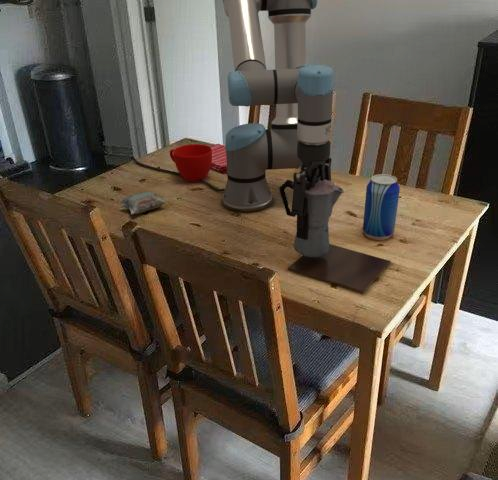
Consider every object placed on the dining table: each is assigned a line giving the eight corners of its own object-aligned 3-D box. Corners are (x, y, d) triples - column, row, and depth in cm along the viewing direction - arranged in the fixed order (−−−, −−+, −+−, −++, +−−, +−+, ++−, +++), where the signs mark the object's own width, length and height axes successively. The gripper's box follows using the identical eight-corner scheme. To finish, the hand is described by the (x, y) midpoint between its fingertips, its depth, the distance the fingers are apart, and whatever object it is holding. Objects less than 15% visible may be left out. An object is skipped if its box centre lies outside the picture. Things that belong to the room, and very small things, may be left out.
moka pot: (339, 261, 131) (343, 184, 120) (276, 257, 134) (275, 181, 123) (342, 242, 139) (346, 168, 128) (282, 238, 142) (281, 165, 131)
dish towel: (224, 174, 189) (223, 167, 187) (184, 158, 204) (183, 151, 202) (260, 161, 198) (260, 154, 196) (219, 147, 213) (219, 140, 211)
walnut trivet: (288, 270, 134) (288, 267, 133) (319, 243, 144) (319, 241, 144) (362, 294, 124) (362, 291, 123) (390, 263, 135) (390, 260, 134)
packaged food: (167, 209, 166) (165, 194, 163) (132, 220, 160) (129, 204, 158) (154, 200, 172) (152, 186, 169) (120, 211, 166) (117, 196, 164)
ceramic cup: (184, 167, 196) (182, 140, 191) (221, 176, 187) (219, 147, 182) (160, 178, 187) (156, 150, 182) (197, 188, 179) (194, 159, 173)
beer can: (387, 244, 143) (394, 187, 134) (357, 237, 147) (362, 181, 138) (398, 231, 149) (405, 176, 140) (369, 224, 153) (374, 170, 144)
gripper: (304, 156, 112) (302, 252, 125) (349, 130, 126) (343, 218, 139) (274, 151, 116) (275, 244, 129) (321, 126, 130) (318, 212, 143)
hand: (311, 231), depth 134 cm, fingers closed on moka pot, 8 cm apart
